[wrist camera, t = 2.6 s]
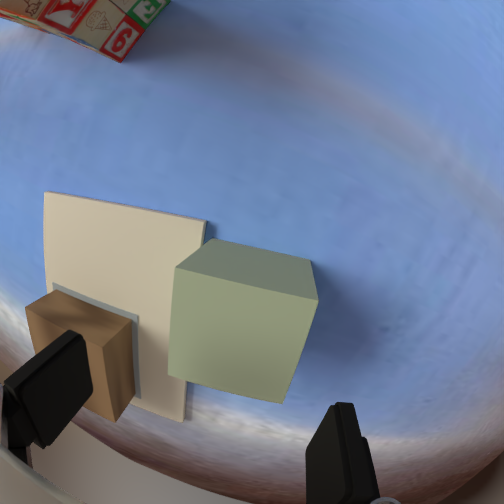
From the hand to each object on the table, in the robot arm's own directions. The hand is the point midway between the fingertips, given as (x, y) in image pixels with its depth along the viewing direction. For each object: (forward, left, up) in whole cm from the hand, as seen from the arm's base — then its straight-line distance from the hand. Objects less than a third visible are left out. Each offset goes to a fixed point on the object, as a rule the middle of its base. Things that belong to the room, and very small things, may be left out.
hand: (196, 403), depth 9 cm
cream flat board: (+10, +4, -9) cm, 14 cm away
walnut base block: (+11, +7, -9) cm, 16 cm away
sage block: (-1, -1, -10) cm, 10 cm away
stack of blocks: (+20, -22, -10) cm, 31 cm away
